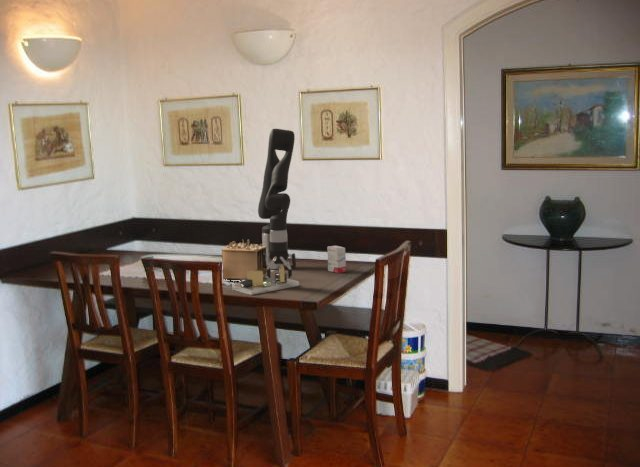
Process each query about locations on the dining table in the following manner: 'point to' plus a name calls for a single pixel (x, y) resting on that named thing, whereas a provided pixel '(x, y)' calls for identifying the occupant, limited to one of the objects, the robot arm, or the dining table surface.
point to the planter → (242, 260)
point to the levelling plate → (266, 286)
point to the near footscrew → (253, 278)
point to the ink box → (336, 259)
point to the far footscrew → (281, 274)
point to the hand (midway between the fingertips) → (279, 277)
